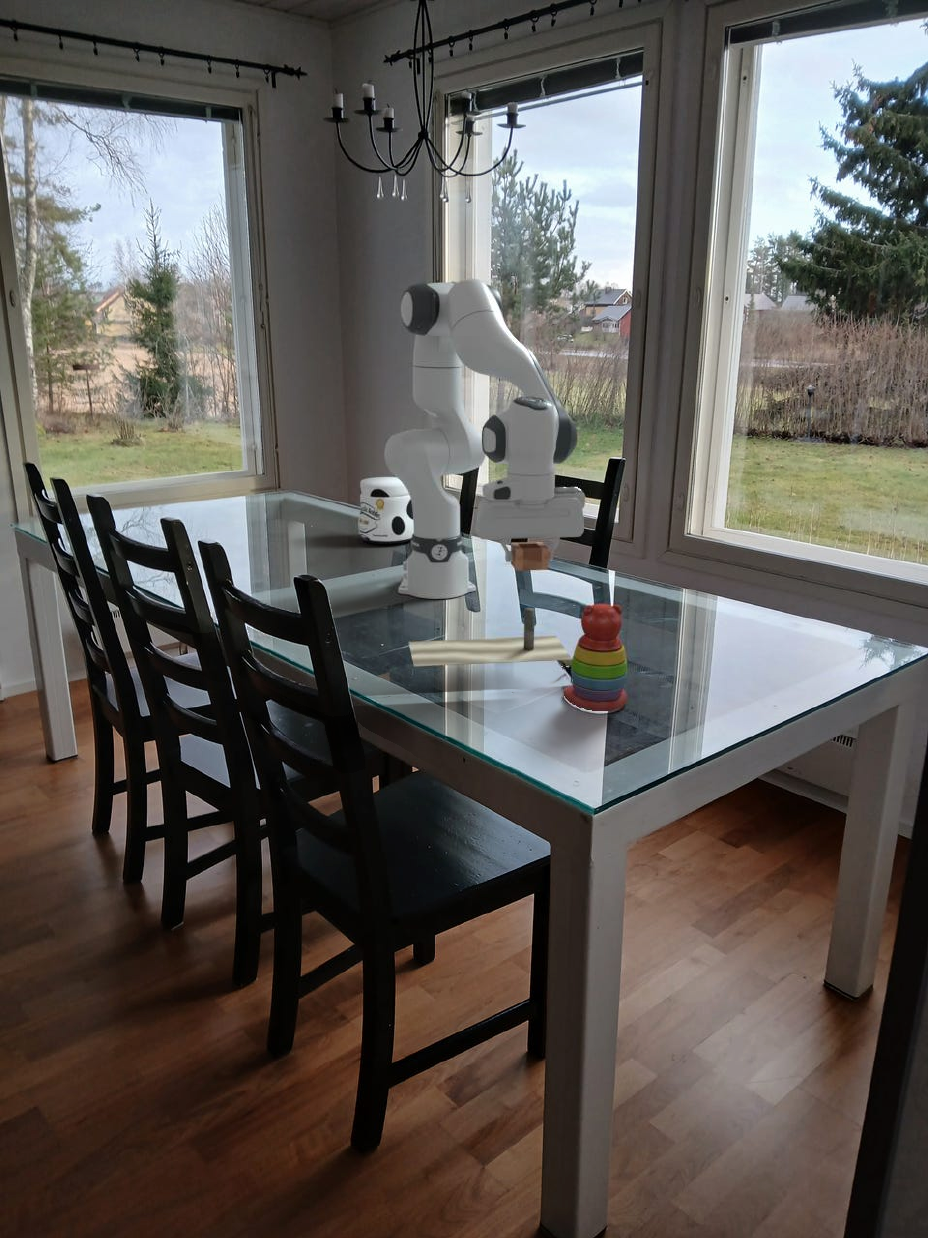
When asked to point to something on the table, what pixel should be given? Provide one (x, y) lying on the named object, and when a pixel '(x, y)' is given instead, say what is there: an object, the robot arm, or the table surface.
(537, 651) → the board
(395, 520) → the milk container
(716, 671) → the table surface
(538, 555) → the bead
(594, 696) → the stacking bear
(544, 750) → the table surface
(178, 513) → the table surface
